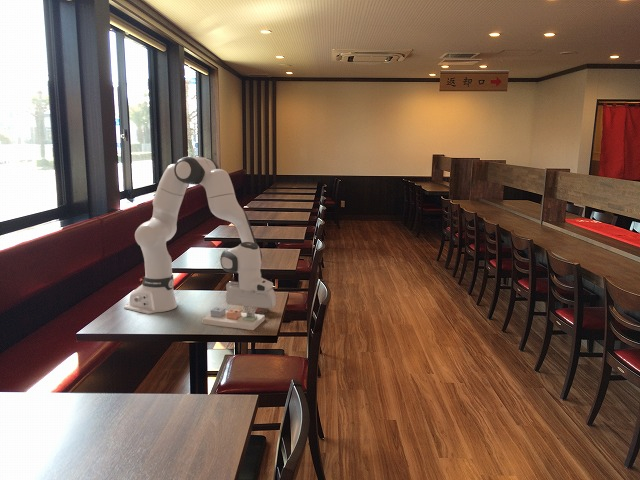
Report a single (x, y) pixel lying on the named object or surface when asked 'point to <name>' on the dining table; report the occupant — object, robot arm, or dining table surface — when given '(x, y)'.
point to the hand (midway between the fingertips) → (250, 316)
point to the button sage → (250, 318)
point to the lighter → (261, 310)
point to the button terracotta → (233, 314)
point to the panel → (234, 321)
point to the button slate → (218, 312)
